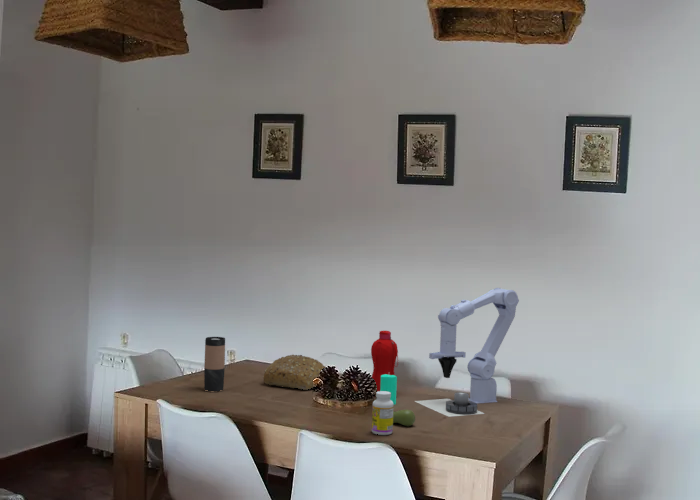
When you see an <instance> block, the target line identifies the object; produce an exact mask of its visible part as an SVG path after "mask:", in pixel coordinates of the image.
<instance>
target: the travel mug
mask: <svg viewBox="0 0 700 500" xmlns="http://www.w3.org/2000/svg"><path fill="white" fill-rule="evenodd" d="M204 341H205V342H204V343H205V345H204V365H203V367H204V372H203V374H204V377H203V379H204V386H203V387H204V389H205V390H208V391H220V390H223V391H224V388H225V387H224V386H225V385H224V384H225V383H224V382H225V371H226V370H225V365H226V362H225V361H226V338H225V337H224V336H208V337H206V338H205V340H204ZM205 390H204V391H205Z"/></svg>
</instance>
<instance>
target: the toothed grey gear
mask: <svg viewBox="0 0 700 500" xmlns="http://www.w3.org/2000/svg"><path fill="white" fill-rule="evenodd" d="M477 410H478V403H475V402H472V401H469V400H468V406H460V405H455V404H454V399H451V400H449V401H447V402H446V411H447V412H450V413H454V414H462V415H464V416H470V415H469V414H475V413H477ZM475 415H476V414H475Z"/></svg>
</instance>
